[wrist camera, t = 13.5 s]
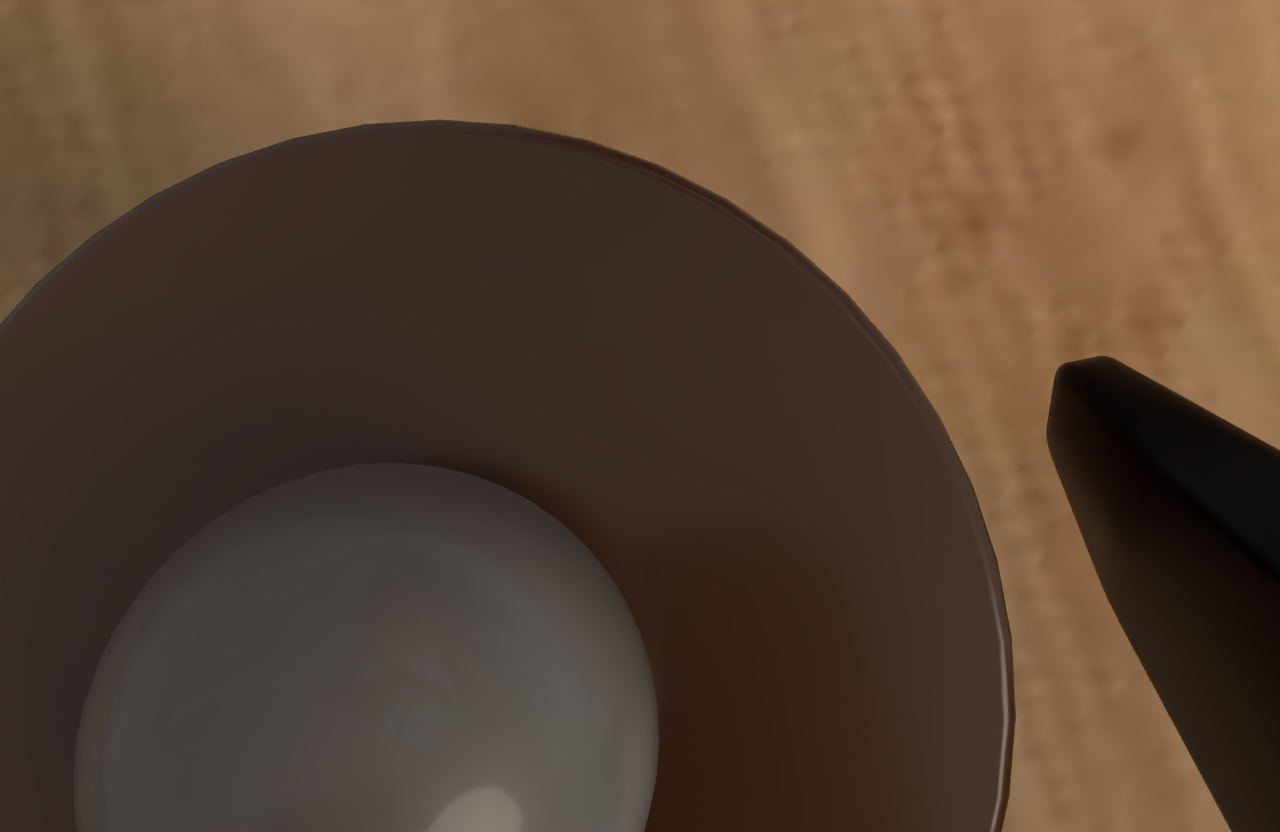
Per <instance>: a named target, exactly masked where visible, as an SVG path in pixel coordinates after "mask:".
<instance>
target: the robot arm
mask: <svg viewBox="0 0 1280 832" xmlns="http://www.w3.org/2000/svg"><path fill="white" fill-rule="evenodd" d="M1046 433H1047V443H1048V447H1049V451H1050V454H1051V457H1052V460H1053V462H1054V465H1055V467H1056V470H1057V473H1058V475H1059V478H1060V480H1061V483H1062V485H1063V488H1064V490H1065V493H1066V496H1067V498H1068V501H1069V503H1070V506H1071V508H1072V511H1073V514H1074V516H1075V519H1076V521H1077V524H1078V526H1079V529H1080V532H1081V534H1082V537H1083V539H1084V542H1085V544H1086V547H1087V549H1088V552H1089V555H1090V557H1091V560H1092V562H1093V565H1094V567H1095V570H1096V573H1097V575H1098V577H1099V580H1100V582H1101V585H1102V587H1103V589H1104V592H1105V594H1106V597H1107V599H1108V601H1109V603H1110V605H1111V607H1112V609H1113V611H1114V613H1115V615H1116V617H1117V619H1118V621H1119V623H1120V625H1121V626H1122V628H1123V630H1124V632H1125V634H1126V636H1127V638H1128V639H1129V641H1130V643H1131V645H1132V647H1133V649H1134V651H1135V653H1136V654H1137V656H1138V658H1139V660H1140V662H1141V664H1142V666H1143V667H1144V669H1145V671H1146V673H1147V675H1148V677H1149V679H1150V681H1151V682H1152V684H1153V686H1154V688H1155V690H1156V692H1157V694H1158V695H1159V697H1160V699H1161V701H1162V703H1163V705H1164V707H1165V708H1166V710H1167V712H1168V714H1169V716H1170V718H1171V720H1172V722H1173V723H1174V725H1175V727H1176V729H1177V731H1178V733H1179V735H1180V736H1181V738H1182V740H1183V742H1184V744H1185V746H1186V748H1187V750H1188V751H1189V753H1190V755H1191V757H1192V759H1193V761H1194V763H1195V764H1196V766H1197V768H1198V770H1199V772H1200V774H1201V776H1202V777H1203V779H1204V781H1205V783H1206V785H1207V787H1208V789H1209V791H1210V792H1211V794H1212V796H1213V798H1214V800H1215V802H1216V804H1217V805H1218V807H1219V809H1220V811H1221V813H1222V815H1223V817H1224V819H1225V820H1226V822H1227V824H1228V826H1229V828H1230V830H1231V832H1280V450H1278V449H1277V448H1275V447H1273V446H1271V445H1269V444H1268V443H1266V442H1264V441H1262V440H1260V439H1258V438H1257V437H1255V436H1253V435H1251V434H1249V433H1248V432H1246V431H1244V430H1242V429H1240V428H1239V427H1237V426H1235V425H1233V424H1231V423H1230V422H1228V421H1226V420H1224V419H1222V418H1221V417H1219V416H1217V415H1215V414H1213V413H1212V412H1210V411H1208V410H1206V409H1204V408H1203V407H1201V406H1199V405H1197V404H1195V403H1194V402H1192V401H1190V400H1188V399H1186V398H1185V397H1183V396H1181V395H1179V394H1177V393H1176V392H1174V391H1172V390H1170V389H1168V388H1166V387H1165V386H1163V385H1161V384H1159V383H1157V382H1156V381H1154V380H1152V379H1150V378H1148V377H1147V376H1145V375H1143V374H1141V373H1139V372H1138V371H1136V370H1134V369H1132V368H1130V367H1129V366H1127V365H1125V364H1123V363H1121V362H1120V361H1118V360H1116V359H1114V358H1111V357H1108V356H1097V357H1092V358H1087V359H1082V360H1077V361H1072V362H1067V363H1064V364H1063V365H1061V366H1060V367H1059V368H1058V370H1057V371H1056V374H1055V378H1054V383H1053V390H1052V396H1051V402H1050V409H1049V415H1048V421H1047V430H1046Z"/></svg>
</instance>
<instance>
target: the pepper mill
mask: <svg viewBox="0 0 1280 832" xmlns="http://www.w3.org/2000/svg"><path fill="white" fill-rule="evenodd" d="M1015 721H1016V710H1015V691H1014V671H1013V652H1012V637H1011V631H1010V626H1009V621H1008V615H1007V610H1006V604H1005V599H1004V594H1003V588H1002V583H1001V578H1000V572H999V567H998V561H997V558H996V555H995V552H994V549H993V546H992V543H991V540H990V537H989V534H988V531H987V528H986V525H985V522H984V518H983V515H982V512H981V509H980V506H979V503H978V500H977V497H976V494H975V491H974V488H973V485H972V483H971V481H970V479H969V477H968V475H967V473H966V471H965V469H964V467H963V465H962V462H961V460H960V458H959V456H958V454H957V452H956V450H955V448H954V446H953V444H952V442H951V440H950V437H949V435H948V433H947V431H946V429H945V427H944V425H943V423H942V421H941V419H940V417H939V415H938V413H937V412H936V410H935V409H934V407H933V406H932V404H931V403H930V401H929V400H928V398H927V397H926V395H925V394H924V392H923V391H922V389H921V387H920V386H919V384H918V383H917V381H916V380H915V378H914V377H913V375H912V374H911V372H910V371H909V369H908V368H907V366H906V364H905V363H904V361H903V360H902V358H901V357H900V355H899V354H898V352H897V351H896V350H895V349H894V347H893V346H892V345H891V344H890V343H889V342H888V340H887V339H886V338H885V337H884V336H883V335H882V333H881V332H880V331H879V330H878V329H877V328H876V326H875V325H874V324H873V323H872V322H871V321H870V319H869V318H868V317H867V316H866V315H865V314H864V312H863V311H862V310H861V309H860V308H859V307H858V306H857V304H856V303H855V302H854V301H853V300H852V299H851V297H850V296H849V295H848V294H847V293H846V292H845V291H844V290H843V289H842V288H841V287H840V286H838V285H837V284H836V283H835V282H834V281H833V280H832V279H831V278H829V277H828V276H827V275H826V274H825V273H824V272H823V271H822V270H820V269H819V268H818V267H817V266H816V265H815V264H814V263H813V262H812V261H810V260H809V259H808V258H807V257H806V256H805V255H804V254H803V253H801V252H800V251H799V250H798V249H797V248H796V247H795V246H794V245H793V244H791V243H790V242H789V241H788V240H786V239H785V238H783V237H782V236H780V235H779V234H777V233H776V232H774V231H773V230H771V229H770V228H769V227H767V226H766V225H764V224H763V223H761V222H760V221H758V220H757V219H755V218H754V217H752V216H751V215H749V214H748V213H747V212H745V211H744V210H742V209H741V208H739V207H738V206H736V205H735V204H733V203H732V202H730V201H729V200H727V199H726V198H724V197H722V196H720V195H718V194H716V193H714V192H712V191H710V190H708V189H706V188H704V187H702V186H700V185H698V184H696V183H694V182H692V181H690V180H688V179H686V178H684V177H682V176H680V175H678V174H676V173H674V172H672V171H670V170H668V169H666V168H664V167H662V166H660V165H658V164H655V163H652V162H649V161H647V160H644V159H641V158H638V157H635V156H632V155H629V154H626V153H624V152H621V151H618V150H615V149H612V148H609V147H606V146H603V145H601V144H598V143H595V142H592V141H589V140H585V139H580V138H576V137H571V136H566V135H561V134H556V133H551V132H546V131H541V130H537V129H532V128H527V127H522V126H517V125H508V124H494V123H480V122H466V121H452V120H426V121H410V122H393V123H377V124H364V125H359V126H354V127H349V128H344V129H339V130H334V131H328V132H323V133H318V134H313V135H308V136H303V137H298V138H293V139H290V140H287V141H284V142H281V143H278V144H275V145H272V146H269V147H266V148H263V149H260V150H257V151H254V152H251V153H248V154H245V155H242V156H239V157H236V158H233V159H230V160H227V161H224V162H221V163H219V164H217V165H215V166H213V167H210V168H208V169H206V170H204V171H202V172H200V173H198V174H196V175H194V176H192V177H190V178H188V179H186V180H184V181H182V182H180V183H178V184H176V185H174V186H172V187H169V188H167V189H165V190H163V191H161V192H159V193H157V194H155V195H153V196H152V197H150V198H149V199H147V200H146V201H144V202H143V203H141V204H140V205H138V206H137V207H135V208H134V209H132V210H131V211H129V212H127V213H126V214H124V215H123V216H121V217H120V218H118V219H117V220H115V221H114V222H112V223H111V224H109V225H108V226H106V227H105V228H103V229H102V230H100V231H99V232H97V233H96V234H94V235H93V236H91V237H90V238H89V239H88V240H87V241H86V242H84V243H83V244H82V245H81V246H80V247H79V248H78V249H76V250H75V251H74V252H73V253H72V254H71V255H69V256H68V257H67V258H66V259H65V260H64V261H63V262H61V263H60V264H59V265H58V266H57V267H56V268H54V269H53V270H52V271H51V272H50V273H49V274H48V275H46V276H45V277H44V278H43V279H42V280H41V281H39V282H38V283H37V284H36V285H35V286H34V287H33V289H32V290H31V291H30V292H29V293H28V294H27V295H26V296H25V298H24V299H23V300H22V301H21V302H20V303H19V304H18V305H17V306H16V308H15V309H14V310H13V311H12V312H11V313H10V314H9V315H8V317H7V318H6V319H5V320H4V321H3V322H2V323H1V324H0V832H1002V827H1003V822H1004V818H1005V813H1006V809H1007V804H1008V799H1009V795H1010V783H1011V770H1012V758H1013V745H1014V733H1015Z"/></svg>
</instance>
